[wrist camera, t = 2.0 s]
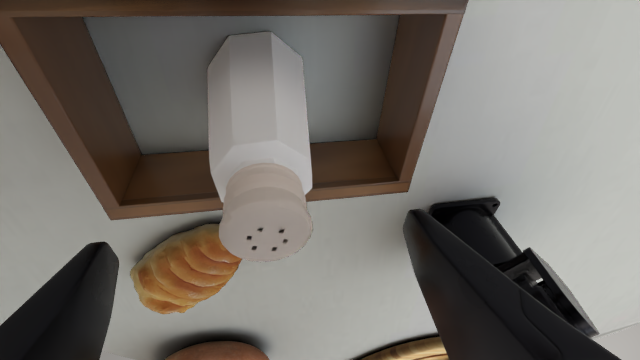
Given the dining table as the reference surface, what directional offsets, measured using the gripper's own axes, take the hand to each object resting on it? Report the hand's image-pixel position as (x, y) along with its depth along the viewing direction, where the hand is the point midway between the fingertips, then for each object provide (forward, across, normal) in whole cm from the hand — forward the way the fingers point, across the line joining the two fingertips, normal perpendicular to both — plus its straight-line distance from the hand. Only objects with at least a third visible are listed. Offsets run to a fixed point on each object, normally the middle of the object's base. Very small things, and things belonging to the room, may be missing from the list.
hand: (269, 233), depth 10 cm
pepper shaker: (+11, 0, 0) cm, 11 cm away
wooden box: (+11, 0, 0) cm, 11 cm away
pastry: (+11, +7, +15) cm, 20 cm away
